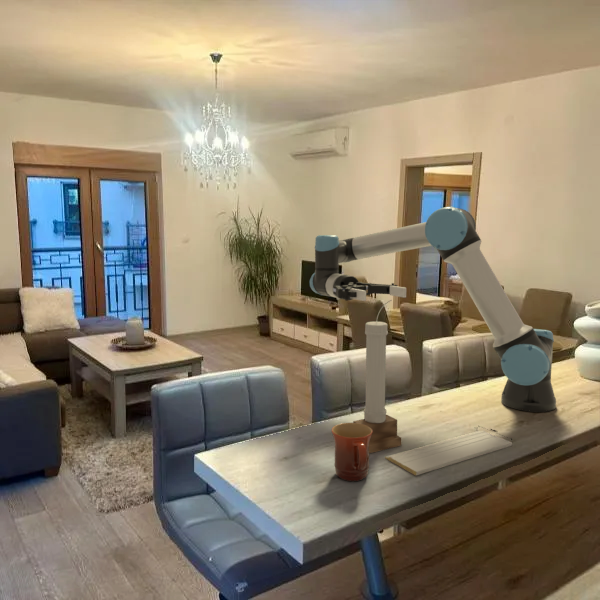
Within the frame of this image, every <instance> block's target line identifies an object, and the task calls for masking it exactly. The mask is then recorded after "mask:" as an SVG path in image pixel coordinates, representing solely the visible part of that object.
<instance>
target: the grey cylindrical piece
mask: <svg viewBox="0 0 600 600" xmlns="http://www.w3.org/2000/svg"><path fill="white" fill-rule="evenodd" d="M390 302H392V299H390V300H388V301H387V302H385V303H384V304H383V305H382V307H380V309H379V311H378V314H377V316H376V321H367V322H366V323H365V326H364V327H365V328H364V329H365V331H364V334H365V335H366V336H365V337H366V342H365V343H366V345H365V348H366V349H365V351H366V352H365V407H364V408H363V413H364V414H363V415H364V416H363V419H365V421H367V422H370V423H383V422H384V421H385V420H386V415H387V409H386V370H387V369H386V368H387V367H386V365H387V364H386V358H387V357H386V356H387V355H386V354H387V335H389V332H388V323H386V322H384V321H378V318H379V315H380V312H381V311H382V309H383V308H384V307H385V305H387V304H388V303H390Z"/></svg>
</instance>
